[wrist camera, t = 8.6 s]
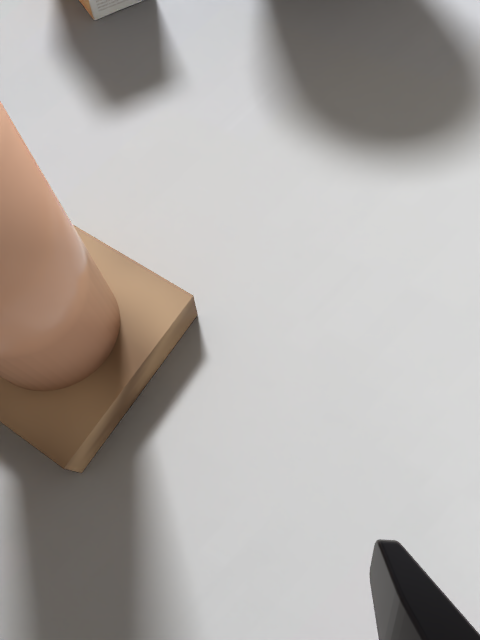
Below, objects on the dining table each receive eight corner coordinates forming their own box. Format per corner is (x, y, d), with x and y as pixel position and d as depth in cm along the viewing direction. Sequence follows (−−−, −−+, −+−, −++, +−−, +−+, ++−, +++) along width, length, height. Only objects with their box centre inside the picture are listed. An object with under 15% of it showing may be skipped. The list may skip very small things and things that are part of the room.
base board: (81, 472, 23) (63, 468, 20) (-62, 367, 25) (-94, 352, 22) (197, 315, 26) (193, 295, 24) (61, 233, 28) (45, 208, 26)
